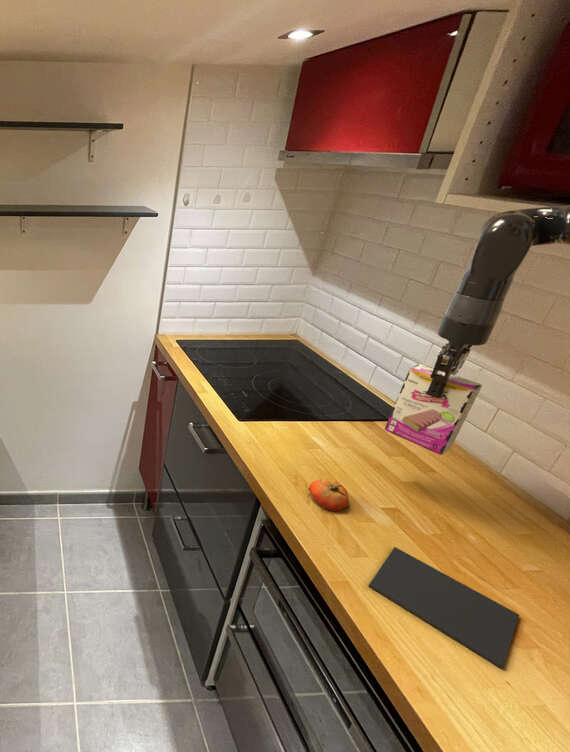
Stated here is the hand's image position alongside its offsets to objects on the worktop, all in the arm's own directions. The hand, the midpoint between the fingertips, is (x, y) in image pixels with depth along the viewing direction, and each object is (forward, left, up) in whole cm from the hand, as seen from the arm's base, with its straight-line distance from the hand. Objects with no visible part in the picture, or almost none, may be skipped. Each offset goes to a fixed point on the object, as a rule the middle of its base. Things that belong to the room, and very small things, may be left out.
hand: (437, 391), depth 95 cm
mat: (-15, +28, -26) cm, 41 cm away
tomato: (+8, +17, -27) cm, 33 cm away
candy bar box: (0, 0, -13) cm, 13 cm away
